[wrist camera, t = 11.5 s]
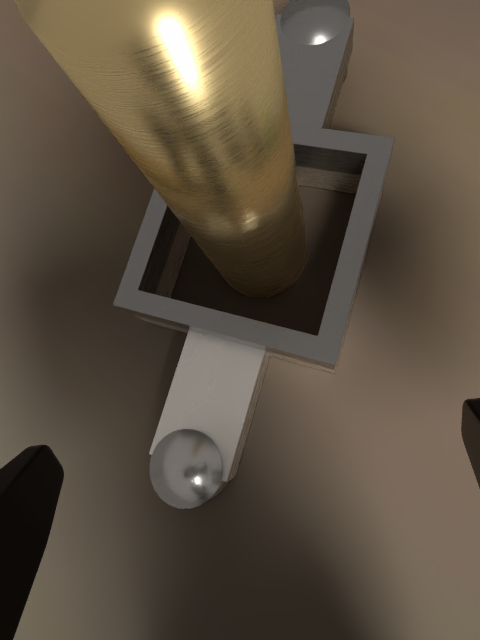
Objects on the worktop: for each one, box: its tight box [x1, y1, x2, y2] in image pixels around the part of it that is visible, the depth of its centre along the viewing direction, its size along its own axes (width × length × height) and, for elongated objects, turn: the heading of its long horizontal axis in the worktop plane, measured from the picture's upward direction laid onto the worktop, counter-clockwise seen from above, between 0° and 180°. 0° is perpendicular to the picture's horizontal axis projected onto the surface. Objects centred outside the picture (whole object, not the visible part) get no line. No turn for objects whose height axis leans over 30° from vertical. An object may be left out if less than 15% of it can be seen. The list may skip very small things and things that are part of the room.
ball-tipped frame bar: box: [113, 0, 395, 509], centre depth 17 cm, size 21×9×3 cm, turn 163°
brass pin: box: [15, 0, 308, 297], centre depth 13 cm, size 4×4×13 cm
